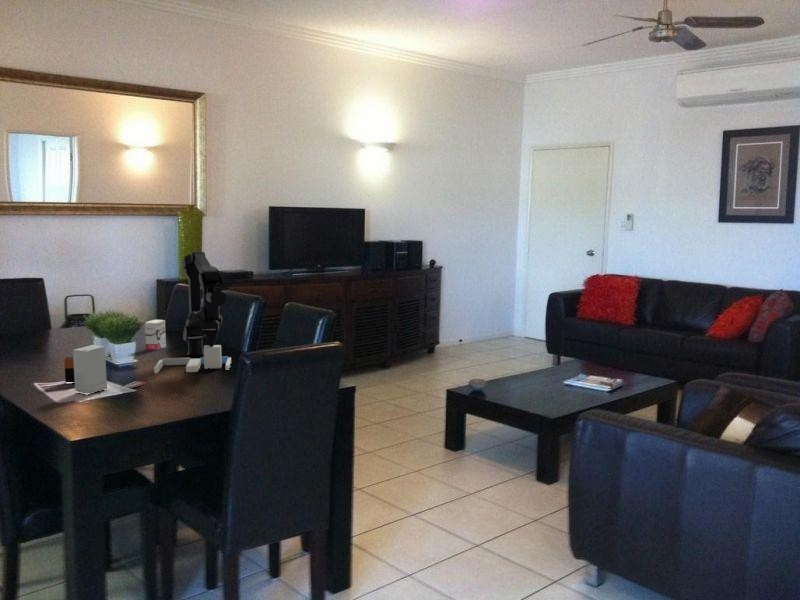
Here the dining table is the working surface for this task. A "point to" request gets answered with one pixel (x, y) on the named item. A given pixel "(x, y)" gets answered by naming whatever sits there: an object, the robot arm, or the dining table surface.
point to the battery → (69, 368)
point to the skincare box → (90, 369)
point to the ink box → (155, 334)
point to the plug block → (212, 356)
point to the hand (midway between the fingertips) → (212, 344)
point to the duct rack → (188, 363)
